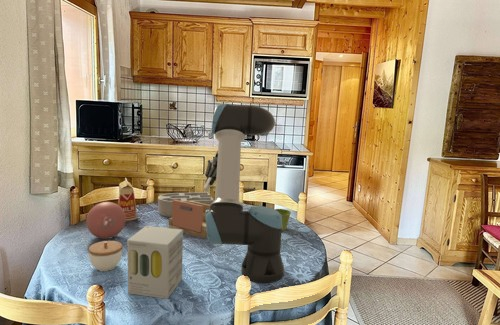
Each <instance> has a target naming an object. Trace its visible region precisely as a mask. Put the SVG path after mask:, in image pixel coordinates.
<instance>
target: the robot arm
mask: <svg viewBox="0 0 500 325" xmlns="http://www.w3.org/2000/svg"><path fill="white" fill-rule="evenodd" d="M275 124H276V123H275V117H274V116H273V114H272V113H271V112H270V111H269V110H267V109H266V108H264V107H261V106H257V105H246V104H245V105H243V104H230V103H226V104H218V105H217V106H216V107H215V109H214V111H213V116H212V123H211V133H212V134H214V136H215V139H216V140H217V141H218V145H217V146H218V148H217V151H216V152H215V155H214V156H215V157H214V158H212V160H210V159H208V160H207V167H206V171H205V174H204V175H205V177H206V180H205V182H204V186H203V188H202V189H203V191H204V192H209V191H210V188H211V186H213V184H214V183H215V193H214V201H213V203H211V205H210V209H208V210H206V230H207V237H206V238H207V241H208V242H209V243H210V244H213V245H220V246H222V245H233V246H235V245H237V246H247V248H246V249H247V250H246V254H245V256H244V258H243V260H242V263H241V274H242V276H243V275H245V276H248V277H249V278H250V280H249V281H252V282H256V283H262V284H263V283H265V284H267V283H274V282H277V281H279V280H281V279H283V277H284V276H285V274H284V273H285V267H284V262H283V259H282V253H281V247H282V246H281V245H282V232H283V231H282V227H283V226H282V216H281V214H280V213H279V212H278V211H276V210H274V208H271V207H268V206H263V205H253V206H250V207H249V209H248V210H244V206H243V204H242V203H241V202H240V181H241V180H240V178H241V176H240V175H241V152H242V143H243V141H244V140H245V139H246V136H258V137H267V136H268V135H269V133H271V132H272V131H273V129H274V127H275Z"/></svg>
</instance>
